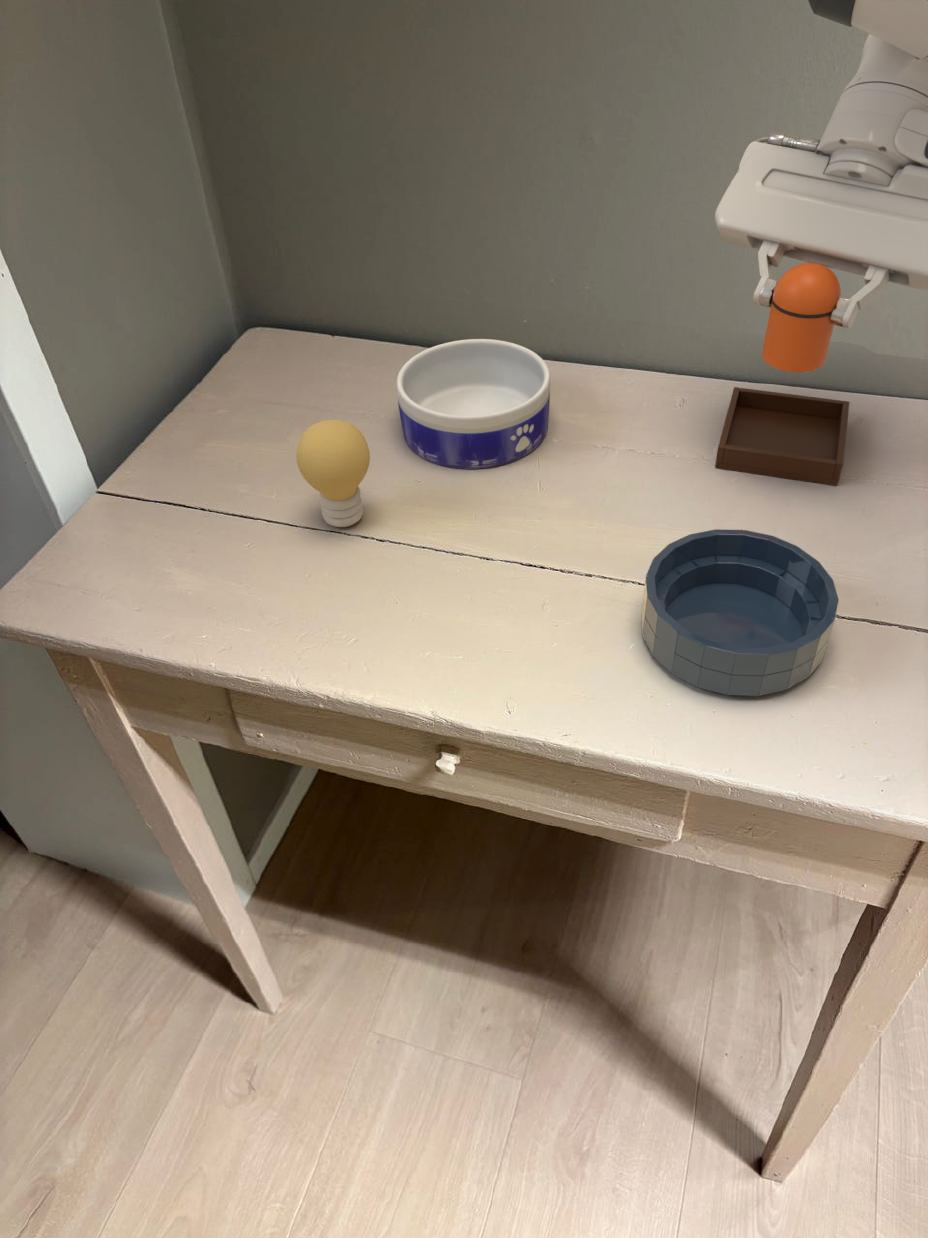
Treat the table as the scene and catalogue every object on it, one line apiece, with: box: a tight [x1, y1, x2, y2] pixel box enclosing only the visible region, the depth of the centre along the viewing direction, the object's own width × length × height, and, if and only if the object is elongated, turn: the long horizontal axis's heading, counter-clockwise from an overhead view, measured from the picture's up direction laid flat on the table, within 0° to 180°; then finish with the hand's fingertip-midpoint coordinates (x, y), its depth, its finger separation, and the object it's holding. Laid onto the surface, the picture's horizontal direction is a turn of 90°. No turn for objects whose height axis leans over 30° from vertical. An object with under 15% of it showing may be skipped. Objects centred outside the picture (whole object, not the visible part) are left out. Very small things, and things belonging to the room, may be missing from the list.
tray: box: [714, 386, 850, 487], centre depth 93 cm, size 11×11×2 cm
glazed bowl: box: [640, 528, 839, 697], centre depth 74 cm, size 14×14×5 cm
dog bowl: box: [396, 338, 551, 470], centre depth 97 cm, size 15×15×6 cm
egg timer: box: [761, 262, 842, 373], centre depth 79 cm, size 5×5×8 cm
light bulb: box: [296, 419, 371, 528], centre depth 85 cm, size 6×6×10 cm
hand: (800, 313), depth 78 cm, fingers closed on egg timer, 5 cm apart
